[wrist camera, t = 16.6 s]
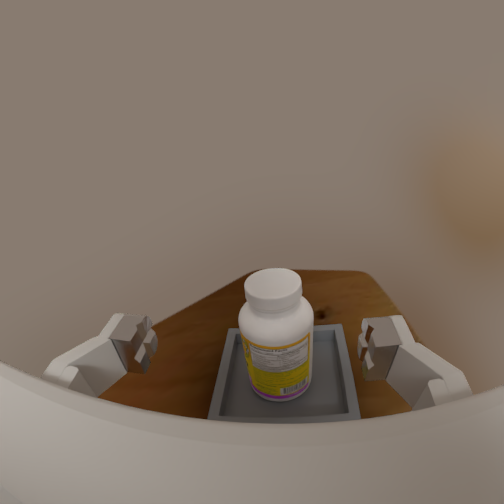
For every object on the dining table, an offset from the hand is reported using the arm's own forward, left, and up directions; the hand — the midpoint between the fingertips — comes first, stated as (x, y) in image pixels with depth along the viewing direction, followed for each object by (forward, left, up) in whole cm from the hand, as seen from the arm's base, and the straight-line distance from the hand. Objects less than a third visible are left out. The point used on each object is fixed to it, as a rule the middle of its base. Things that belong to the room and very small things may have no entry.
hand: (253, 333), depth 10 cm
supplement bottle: (0, +12, -18) cm, 22 cm away
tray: (+1, +12, -19) cm, 22 cm away
